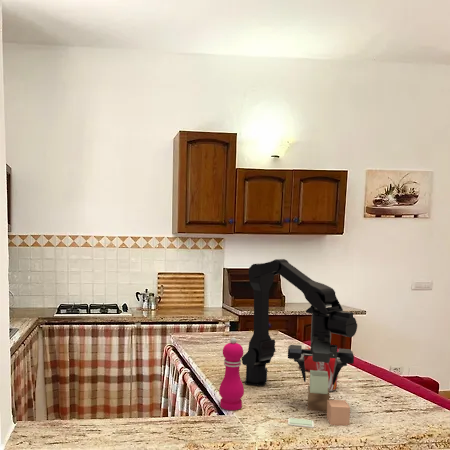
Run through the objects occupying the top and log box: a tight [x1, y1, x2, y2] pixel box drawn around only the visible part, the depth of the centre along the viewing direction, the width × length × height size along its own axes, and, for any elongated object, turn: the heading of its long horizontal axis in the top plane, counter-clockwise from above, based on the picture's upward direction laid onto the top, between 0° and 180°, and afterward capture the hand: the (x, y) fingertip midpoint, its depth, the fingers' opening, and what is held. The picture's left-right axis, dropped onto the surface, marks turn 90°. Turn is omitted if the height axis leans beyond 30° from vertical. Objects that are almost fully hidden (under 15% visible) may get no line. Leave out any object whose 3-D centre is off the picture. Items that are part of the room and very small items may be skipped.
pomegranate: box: [304, 346, 316, 372], centre depth 177 cm, size 10×10×9 cm
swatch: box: [287, 417, 315, 429], centre depth 130 cm, size 7×4×1 cm, turn 81°
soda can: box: [316, 358, 339, 393], centre depth 157 cm, size 7×7×12 cm
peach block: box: [326, 399, 351, 426], centre depth 132 cm, size 5×5×5 cm
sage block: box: [309, 370, 328, 394], centre depth 141 cm, size 5×5×5 cm
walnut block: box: [307, 385, 331, 413], centre depth 142 cm, size 6×6×5 cm
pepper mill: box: [218, 337, 245, 411], centre depth 140 cm, size 7×7×20 cm
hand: (318, 383), depth 142 cm, fingers open, 8 cm apart
